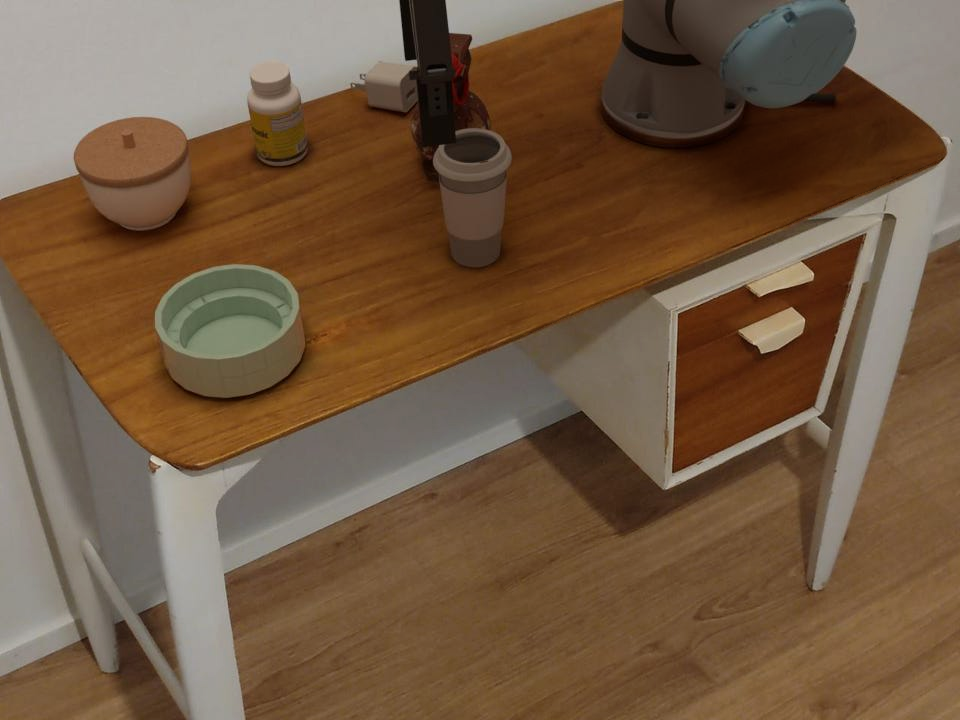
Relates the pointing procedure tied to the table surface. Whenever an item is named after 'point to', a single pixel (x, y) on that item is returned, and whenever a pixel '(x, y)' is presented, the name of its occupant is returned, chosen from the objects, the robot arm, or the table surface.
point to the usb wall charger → (389, 86)
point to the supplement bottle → (276, 115)
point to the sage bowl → (230, 330)
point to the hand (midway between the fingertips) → (429, 98)
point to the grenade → (465, 105)
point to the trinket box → (135, 171)
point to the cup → (474, 194)
